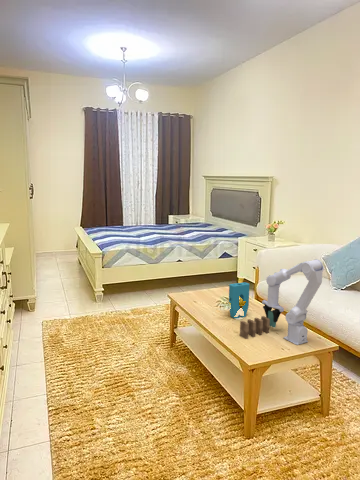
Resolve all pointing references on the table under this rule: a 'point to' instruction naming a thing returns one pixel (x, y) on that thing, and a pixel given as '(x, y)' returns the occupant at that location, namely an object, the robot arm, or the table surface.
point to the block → (234, 294)
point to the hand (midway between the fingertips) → (271, 320)
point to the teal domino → (271, 319)
